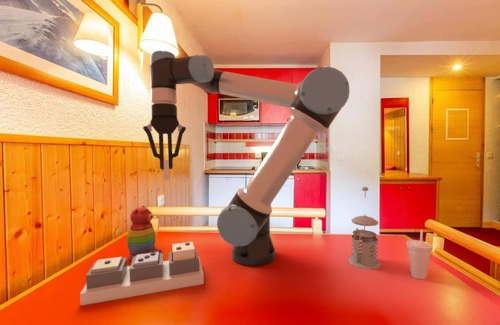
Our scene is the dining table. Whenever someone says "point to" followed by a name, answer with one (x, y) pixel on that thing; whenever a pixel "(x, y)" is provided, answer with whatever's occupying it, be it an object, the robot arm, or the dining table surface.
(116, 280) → the button panel
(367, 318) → the dining table surface
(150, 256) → the button three dot
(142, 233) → the stacking bear
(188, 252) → the button two dot
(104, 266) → the button one dot
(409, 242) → the smoothie
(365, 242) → the french press
